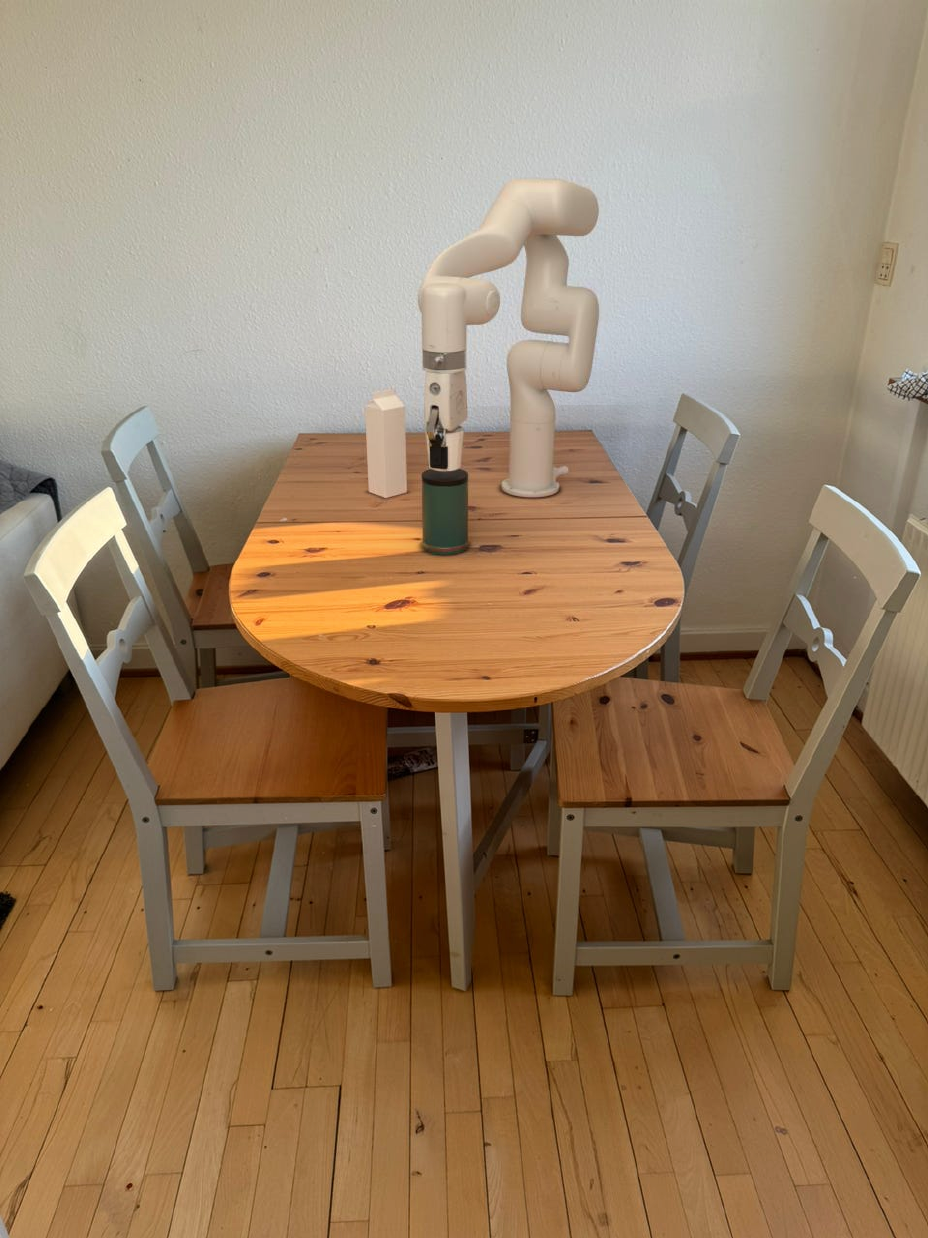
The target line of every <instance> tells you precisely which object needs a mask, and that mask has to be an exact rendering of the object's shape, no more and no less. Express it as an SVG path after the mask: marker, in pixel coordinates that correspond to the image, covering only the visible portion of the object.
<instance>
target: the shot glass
mask: <svg viewBox="0 0 928 1238" xmlns="http://www.w3.org/2000/svg"><path fill="white" fill-rule="evenodd" d="M437 428H442V429H443V426H442V425H437ZM424 431H425V442H426V450H427V460H428V467H429V469H433V470H437V471H453V470H457V469H461V465H462V455H463V445H464V434H465V428H464V427H463V426H462V425H459V426H458V427H456V428H455V429H454V430H452V431H448V430H447V433H446V446H448V468H447V469H437V468H431V467H430V446H429V437H428V435H427V433H426V431H427V427H426V426H425V430H424ZM437 434H439V435H440V437H441V438H442V432H437Z"/></svg>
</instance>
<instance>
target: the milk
mask: <svg viewBox="0 0 928 1238" xmlns="http://www.w3.org/2000/svg"><path fill="white" fill-rule="evenodd" d="M364 413H365V415H364V416H365V417H364V418H365V439H366V462H367V483H368V486H367V487H368V493H371V494H373V495H376V496H379V497H381V498H384V499H388V498H392V497H395V496H399V495H403V494H407V493H408V481H407V480H408V479H407V475H408V473H407V446H406V445H407V441H406V439H407V437H406V435H407V434H406V405H405V404H404V403H403V401H401V400H400V398H399V397H398V396H397V390H396V388H394V387H393V388H387V389H382V390H377V391H374V392H372V400H370V401H368V403H366V404H365V405H364Z"/></svg>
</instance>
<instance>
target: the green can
mask: <svg viewBox="0 0 928 1238" xmlns="http://www.w3.org/2000/svg"><path fill="white" fill-rule="evenodd" d="M421 517H422V519H421V521H422V523H421V524H422V527H421V528H422V541H421V542H422V549H423V550H424V551H425V552H426V553H429V554H433V555H438V556H453V555H458V554H462V553H463V552H465V551H467V550H468V548H469V473H468V471H466V470H464V469H461V468H459V469H457V470H453V471H437V470H433V469H430V468H427V469H426V470H424V471H422V472H421Z"/></svg>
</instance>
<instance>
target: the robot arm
mask: <svg viewBox="0 0 928 1238" xmlns="http://www.w3.org/2000/svg"><path fill="white" fill-rule="evenodd" d="M599 207H600V206H599V201H598V199H597V195H596V194H595V193H594V192H593V190H592V189H590V188H588V187H586V186H583V185H581V184H578V183H575V182H572V181H569V180H565V179H560V178H530V177H529V178H527V177H525V178H524V177H523V178H515V179H512V180H510V181H508V182H506V183H505V184H504V185H503V186H502V187H501V189H500V191H499V193H498V194H497V196H496V198H495V200H494V201H493V203H492V204H491V206H490V208H489V209H488V212H487V213H486V215H485V217H484V219H483V220H482V221H481V224H480V225H479V227H478V229H477V230H475V231H474V232H471V233H469V234H467V235H466V236H464V237H463V238H461V239H459V240H457V241H456V242H455V243H453V244H451V245H450V246H448V247H447V248H445V249H444V250H443V251H442V252H440V253H439V254H438V255H437V256H436V257H435V259H434V260H433V261H432V263H431V265H430V266H429V268H428V269H427V271H426V273H425V274H424V277H423V279H422V281H421V282H420V283H421V284H420V286H419V289H418V294H417V305H418V309H419V311H420V313H421V357H422V362H421V363H422V365H421V366H422V371H425V379H424V380H425V381H424V406H423V411H424V413H423V414H424V415H423V416H424V426H425V428H426V427H427V431H426V432H425V434H426V433H427V435H428V437H429V446H430V467H431V468H437V469H447V468H448V446H446V433H447V430H448V431H452V430H454V429H455V428H456V427H458V426H461V425H462V424H463V423H464V422H466V420H467V418H468V392H467V378H466V377H467V376H466V370H467V326H479V325H480V326H481V325H485V324H488V323H490V322H491V321H492V320H493V319H494V318H495V317H496V316H497V314H498V312H499V309H500V307H501V306H500V305H501V295H500V292H499V290H498V288H497V286H496V285H495V284H494V283H492V282H491V281H489V280H488V279H487V280H486V279H484V278H473V277H475V276H478V275H482V274H483V275H484V274H487V273H490V272H495V271H496V270H500V269H503V268H505V267H507V266H509V265H511V264H513V263H514V262H515V261H516V260H517V258H518V257H519V255H520V253H521V251H522V249H523V248H524V251H525V257H526V265H525V273H524V274H525V275H524V282H523V290H522V298H521V306H520V321H521V322H520V323H521V325H522V327H523V328H524V329H525V330H526V331H528V332H531V333H534V334H535V333H536V334H542V335H553V336H563V337H564V336H565V337H568V342H562V341H561V342H560V341H551V340H541V339H524V340H520V341H518V342H516V343H514V344H513V345H512V346H511V347H510V348H509V350H508V353H507V357H506V372H507V378H508V384H509V395H510V398H509V399H510V413H509V414H510V415H509V447H508V449H509V453H508V454H509V456H508V478H506V479H504V480H502V482H501V485H500V487H501V490H502V491H503V492H504V493H506V494H508V495H510V496H514V497H518V498H519V497H520V498H545V497H549V496H553V495H555V494H557V493H558V492H559V490H560V483H559V482H558V481H557V479H558V478H559V477H562V476H566V475H568V474H569V473H570V472H569V471H570V470H569V468H568V466H567V465H563V466H558V467H556V465H554V452H555V431H556V406H555V403H554V400H553V398H552V396H551V394H550V392H549V391H554V392H555V391H557V392H565V393H566V392H567V393H579V392H581V391H583V390H584V389H586V387H587V385H588V384H589V381H590V378H591V374H592V370H593V369H592V368H593V363H594V362H593V361H594V356H595V355H594V354H595V348H596V342H597V341H596V340H597V335H598V327H599V318H600V305H599V299H598V297H597V294H596V293H595V292H594V290H592V289H590V288H589V287H585V286H571V285H568V274H569V273H568V272H569V266H570V259H569V255H568V253H567V251H566V248H565V247H564V245H563V243H562V242H561V240H560V238H559V237H558V236H561V237H562V236H563V237H564V236H565V237H585V236H587V235H589V234H591V232H592V231H593V230H594V228H595V227H596V225H597V223H598V220H599V215H600V214H599V213H600V212H599V211H600V209H599ZM437 425H442V426H443V429H442V428H437ZM437 432H442V438H441V437H440V435H439V434H437ZM430 467H429V468H430Z"/></svg>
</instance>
